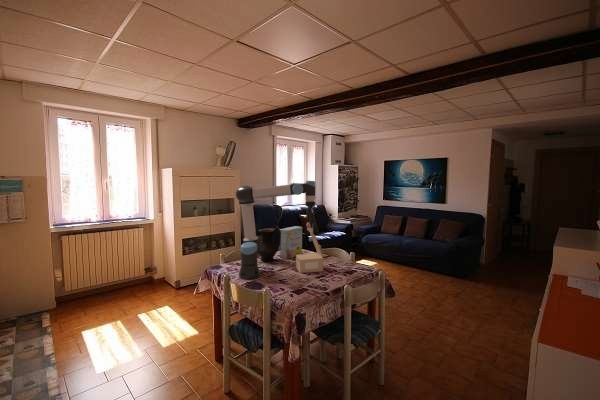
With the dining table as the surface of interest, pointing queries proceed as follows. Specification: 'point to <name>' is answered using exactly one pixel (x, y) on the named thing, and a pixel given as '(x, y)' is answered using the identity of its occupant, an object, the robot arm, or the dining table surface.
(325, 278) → the dining table surface
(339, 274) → the dining table surface
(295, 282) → the dining table surface
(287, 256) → the snack box
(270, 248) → the jug
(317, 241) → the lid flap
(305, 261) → the carton
